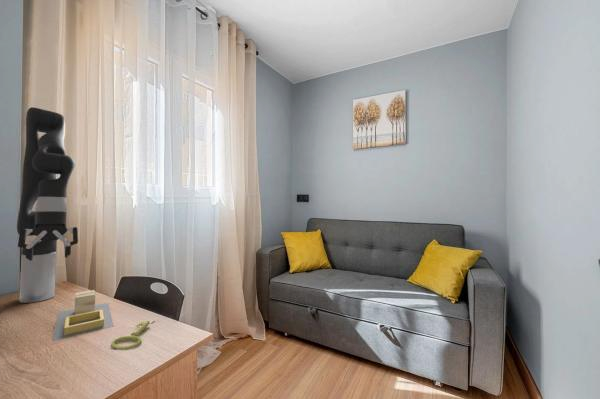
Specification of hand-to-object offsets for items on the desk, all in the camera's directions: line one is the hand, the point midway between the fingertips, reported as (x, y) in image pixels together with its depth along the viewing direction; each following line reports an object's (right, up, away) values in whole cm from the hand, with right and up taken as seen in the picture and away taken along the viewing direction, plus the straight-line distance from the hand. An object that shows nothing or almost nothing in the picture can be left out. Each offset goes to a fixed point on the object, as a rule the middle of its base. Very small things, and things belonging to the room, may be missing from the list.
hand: (48, 258), depth 85 cm
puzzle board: (+17, -18, -6) cm, 26 cm away
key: (+38, -19, -14) cm, 45 cm away
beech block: (+14, -17, -2) cm, 22 cm away
